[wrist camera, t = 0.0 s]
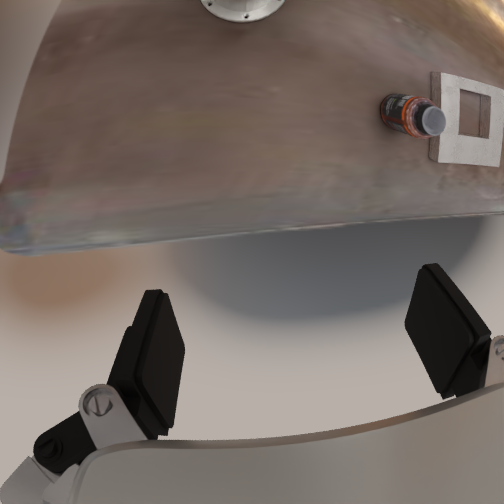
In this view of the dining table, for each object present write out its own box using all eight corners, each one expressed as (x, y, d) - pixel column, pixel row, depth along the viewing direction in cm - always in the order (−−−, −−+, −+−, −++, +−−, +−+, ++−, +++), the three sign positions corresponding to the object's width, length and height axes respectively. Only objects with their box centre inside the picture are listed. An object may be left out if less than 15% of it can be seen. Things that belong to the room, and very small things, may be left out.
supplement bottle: (409, 132, 42) (448, 148, 32) (377, 126, 41) (412, 140, 32) (413, 97, 39) (454, 105, 29) (380, 89, 38) (418, 94, 29)
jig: (430, 72, 36) (440, 72, 33) (494, 88, 36) (504, 89, 33) (428, 157, 44) (438, 162, 41) (489, 162, 43) (499, 166, 41)
